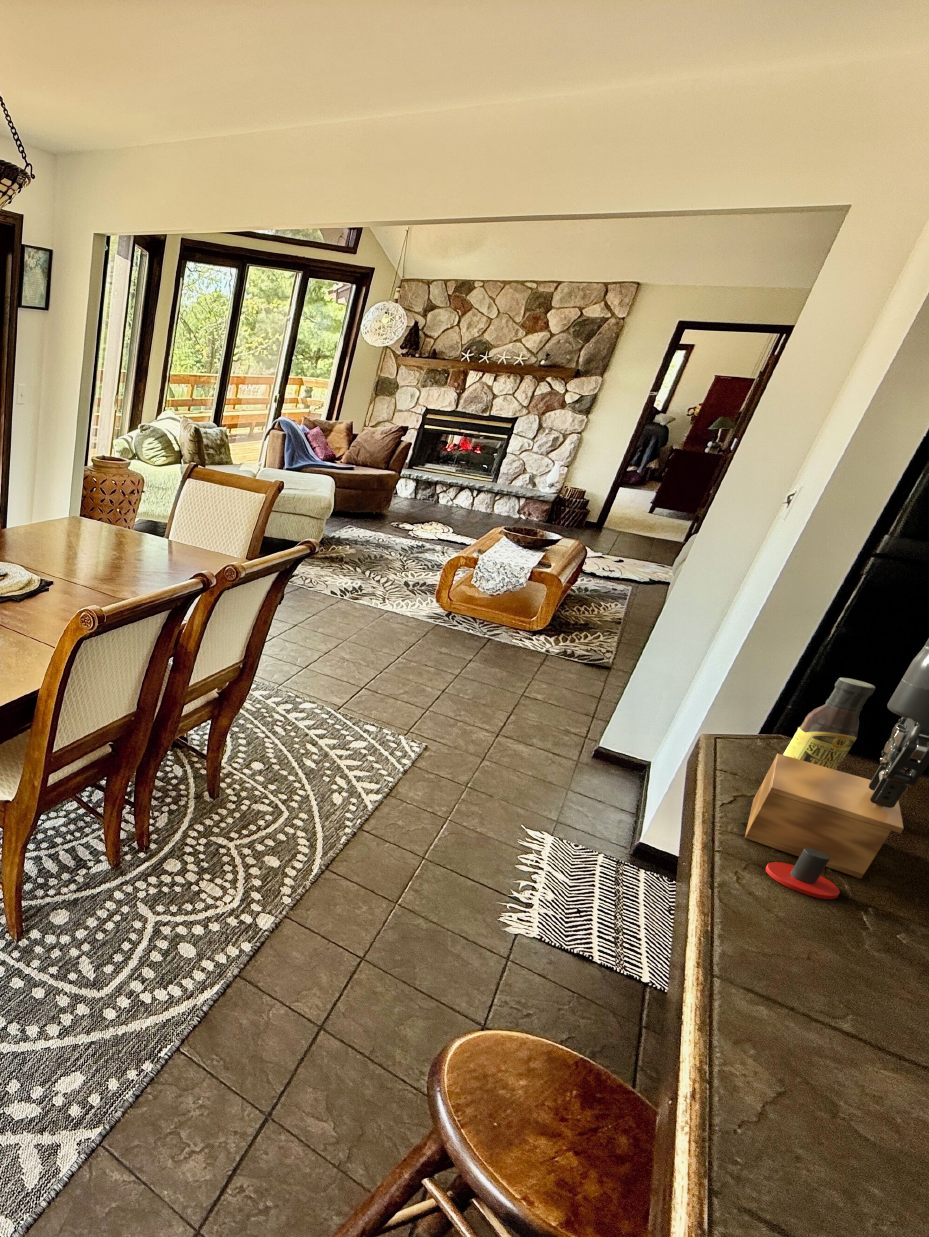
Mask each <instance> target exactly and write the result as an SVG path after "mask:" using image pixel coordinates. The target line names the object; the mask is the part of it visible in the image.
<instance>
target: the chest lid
mask: <svg viewBox="0 0 929 1237" xmlns="http://www.w3.org/2000/svg"><path fill="white" fill-rule="evenodd" d="M774 759H775V763H774V768H773V774H772V779H771V785H770V790H769V792H771V793H774V794H777V795H781V796H784V797H787V798H790V799H793V800H796V801H800V802H803V803H806V804H809V805H812V806H816V807H819V808H822V809H825V810H828V811H831V812H835V813H838V814H841V815H844V816H847V817H850V818H854V819H857V820H860V821H863V822H866V823H869V824H873V825H876V826H879V827H882V828H885V829H889V830H891V832H895V833H898V834H902V832H903V831H904V830H905V829H904V823H903V816H902V812H901V807H900V801H899V800H900V799H899V800H898V801H897V803H896V805H895V806H894V807H892V808H888V807H884V806H881V805H878V804H874V803H872V802H871V801H870V797H871V795H872V794H873V792H874V790H871V789H870V788H869V783H870V782H871V780H872V779H868V778H865V777H861V776H858V775H854V774H850V773H849V772H844V771H840V770H838V769H837V770H834V769H830V768H827V767H823V766H820V765H816V764H813V763H809V762H806V761H802V760H799V759H795V758H792V757H788V756H785V755H783V754H781V753H776V755H775V757H774ZM883 772H885V770H882V771H881V772H880V773H879V779H880V780H881V779H882V776H883V775H882V773H883Z"/></svg>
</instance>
